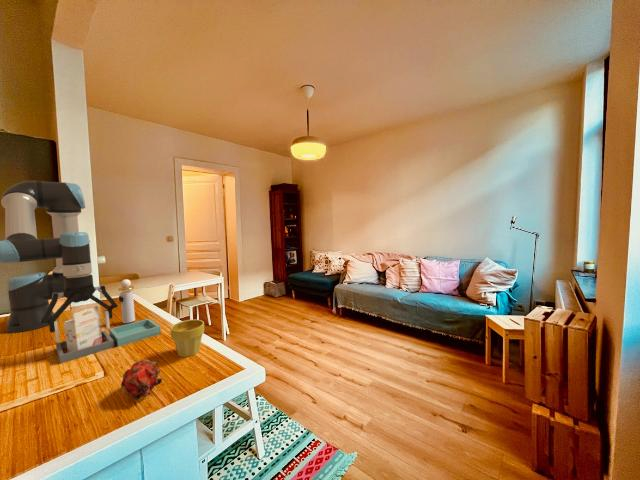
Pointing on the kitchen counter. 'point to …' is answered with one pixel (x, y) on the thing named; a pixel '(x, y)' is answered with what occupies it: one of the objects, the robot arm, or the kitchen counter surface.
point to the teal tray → (134, 332)
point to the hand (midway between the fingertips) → (84, 333)
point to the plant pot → (187, 336)
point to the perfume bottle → (127, 301)
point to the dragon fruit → (141, 378)
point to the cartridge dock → (84, 351)
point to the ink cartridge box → (83, 330)
